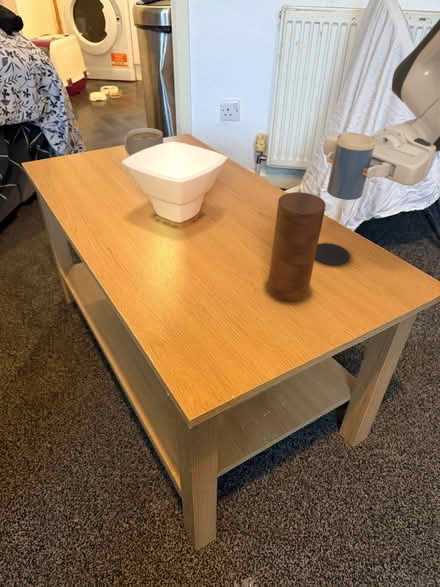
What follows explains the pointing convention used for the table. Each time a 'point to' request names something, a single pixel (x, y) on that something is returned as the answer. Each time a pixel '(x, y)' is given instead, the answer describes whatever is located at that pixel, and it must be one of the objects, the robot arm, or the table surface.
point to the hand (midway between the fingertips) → (347, 165)
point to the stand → (295, 245)
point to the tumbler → (350, 165)
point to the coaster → (331, 254)
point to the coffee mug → (142, 139)
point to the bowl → (175, 177)
